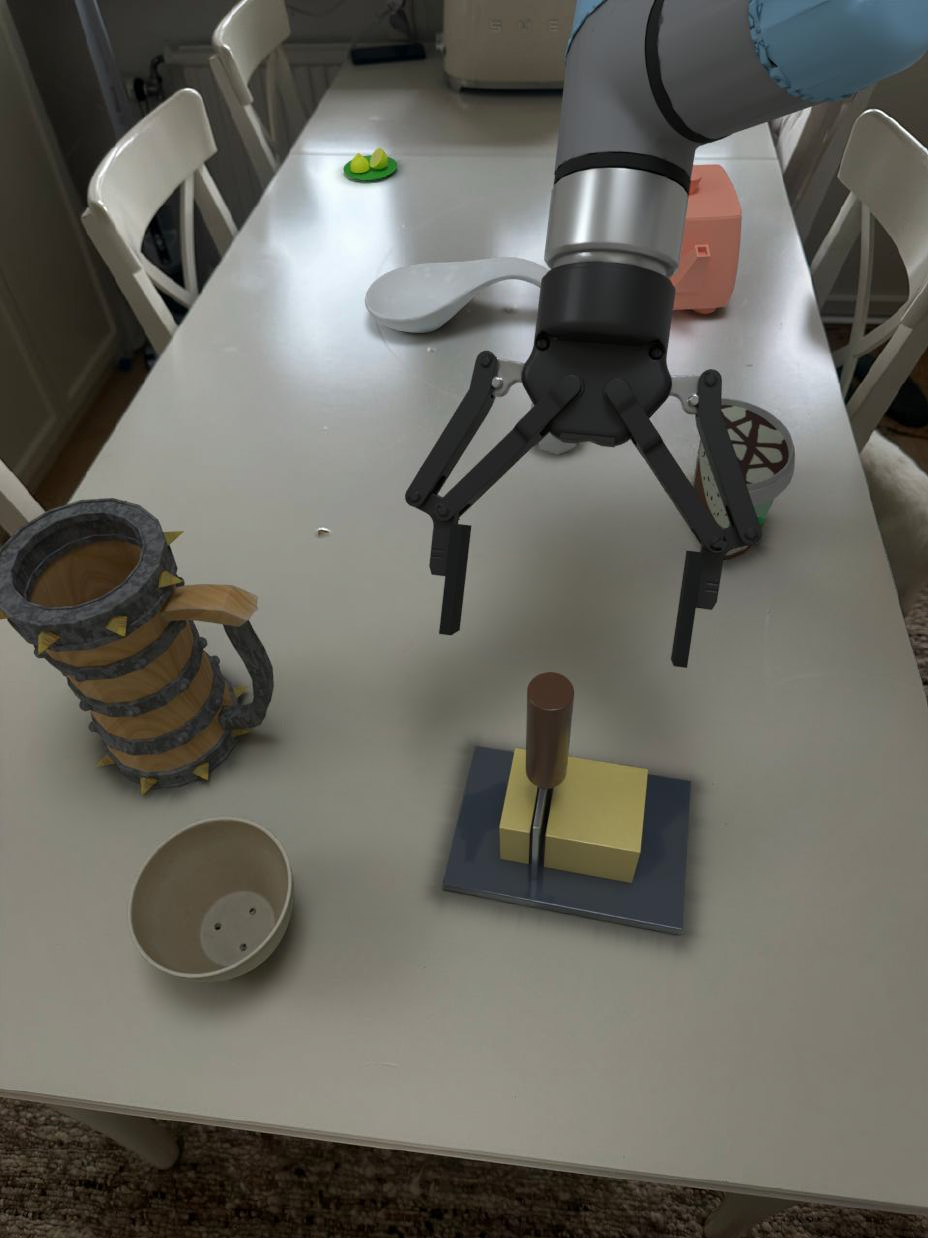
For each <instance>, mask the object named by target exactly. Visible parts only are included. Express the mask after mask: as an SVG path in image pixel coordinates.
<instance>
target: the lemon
mask: <svg viewBox="0 0 928 1238" xmlns="http://www.w3.org/2000/svg"><path fill="white" fill-rule="evenodd" d="M397 168H398V162H397V161H396V160H395V159H394V158H392V157H390V156H388V155H387V153H386V152H385V150H384V149H383V148H382V147H377V148H376V149H375V150H373V153H372V154H368V155H361V153H360V152H357V153H356V154H355V156H354V157H353V158H352V159H351V160H350V161H348V162H347V163H345V164H344V166H343V173H344V174H345V175H346V176H347V177H349V178H352V179H356V180H359V181H377V180H379V179H383V178H386V177H387V176H389V175H391V174H393V173H394V172H395V171H396V170H397Z"/></svg>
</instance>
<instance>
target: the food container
mask: <svg viewBox="0 0 928 1238" xmlns="http://www.w3.org/2000/svg"><path fill="white" fill-rule="evenodd" d="M721 413H722V416H723V419H724V421H725V424H726V427H727V430H728V433H729V436H730V439H731V442H732V445H733V448H734V451H735V454H736V456H737V459H738V462H739V465H740V468H741V471H742V474H743V477H744V480H745V483H746V486H747V489H748V491H749V494H750V497H751V500H752V503H753V506H754V509H755V512H756V515H757V518H758V521H759V523H760V526H761V529H762V527H763V525H764V523H765V521H766V518H767V516H768V514H769V512H770V509H771V507H772V504H773V503H774V501H775V498H777V497H778V496H780V495H781V494H783V492H784V491H786V489H787V488H788V486H789V485H790V483H792V480H793V477H794V474H795V466H796V465H795V463H796V451H795V444H794V441H793V438H792V435H791V432H790V431H789V429H788V428H787V426H786V425H785V424H784V423H783V422H782V421H781V420H780V419H779V418H778V417H777V416H775V415H774V414H773V413H771V412H769V411H768V410H766V409H764V408H762V407H760V406H758V405H756V404H753V403H750V402H748V401H743V400H739V399H734V398H729V397H728V398H727V397H721ZM694 467H695V468H694V473H693V480H692V483H691V485H692V486H693V488H694V489H695V491H696V492H697V494H698V495H699V497H700V498H701V500H702V501H703V503H704V504H705V506H706V507H707V509H708V510H709V512H710V514H711V515H712V517H713V518H714V520H715V521H716V523H717V524H718V526H719V527H720V529H723V528H727V527H731V526H730V523H729V520H728V517H727V514H726V511H725V508H724V505H723V502H722V500H721V497H720V494H719V491H718V488H717V485H716V482H715V479H714V476H713V473H712V471H711V468H710V465H709V462H708V459H707V456H706V453H705V450H704V447H703V444H702V441H701V439H700V438H699V444H698V449H697V456H696V461H695V466H694ZM753 546H754V545H748V546H743V547H739V548H735V549H732V550H730V551H729V552H728V553H727V554H726V555H725V557H724V560H723V562H724V561H730V560H732V559H735V558H737V557H740V556H742V555H744V554H745V553H747V551H749V550H750V549H751V548H752V547H753Z"/></svg>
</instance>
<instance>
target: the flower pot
mask: <svg viewBox="0 0 928 1238" xmlns="http://www.w3.org/2000/svg"><path fill="white" fill-rule="evenodd" d="M294 889H295V888H294V876H293V871H292V865H291V862H290V859H289V856H288V854H287V851H286V850H285V848H284V846H283V844H282V843H281V841H280V840H279V839H278V837H277V836H276V835H275V834H274V833H273V832H271V831H270V830H269V829H268V828H267V827H265V826H264V825H262V824H260V823H259V822H256V821H254V820H253V819H252V820H251V819H248V818H245V817H242V816H233V815H232V816H231V815H220V816H211V817H207V818H203V819H199V820H196V821H194V822H191V823H189V824H187V825H184V826H182V827H181V828H179V829H177V830H176V831H174V832H172V833H171V834H170V835H168V836H167V837H166V838H164V839H163V840H162V841H161V842H160V843H158V845H157V846H156V847H155V848H154V849H153V850H152V851H151V852H150V853H149V855H147V857H146V858H145V860H144V861H143V863H142V864H141V865H140V868H139V869H138V870H137V873H136V875H135V877H134V878H133V881H132V885H131V887H130V890H129V895H128V900H127V907H126V920H127V927H128V932H129V935H130V938H131V941H132V943H133V945H134V946H135V948H136V950H137V952H138V953H139V954H140V955H141V957H142V958H144V960H145V961H146V962H148V963H149V964H150V965H151V966H152V967H154V968H156V969H157V970H159V971H161V972H163V973H165V974H168V975H170V976H172V977H176V978H178V979H181V980H186V981H190V982H197V983H214V982H223V981H228V980H231V979H235V978H238V977H240V976H243V975H245V974H247V973H249V972H251V971H253V970H254V969H256V968H257V967H259V966H260V965H262V963H264V962H265V961H266V960H267V959H268V958H269V957H270V956H271V955H272V954H273V953H274V951H276V949H277V947H278V946H279V944H280V943H281V941H282V939H283V938H284V936H285V933H286V931H287V929H288V926H289V923H290V920H291V916H292V913H293V905H294V895H295V894H294V891H295V890H294ZM218 928H219V929H218ZM245 947H246V948H245Z"/></svg>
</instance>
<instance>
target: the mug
mask: <svg viewBox="0 0 928 1238" xmlns="http://www.w3.org/2000/svg"><path fill="white" fill-rule="evenodd" d="M184 532H185V531H184V530H180V531H179V530H178V531H177V530H175V531H163V528H162V524H161V522H160V519H158V518H157V517H156V516H154V515H153V514H152V513H151V512H149V511H148V510H147V509H145V507H143V506H142V505H141V504H138V503H134V502H130V501H128V500H122V499H118V498H115V497H107V498H106V497H105V498H92V499H91V498H89V499H79V500H76V501H73V502H70V503H67V504H64V505H60V506H57V507H54V508H50V509H48V510H46V511H45V512H43V513H42V514H40V515H38V516H36V517H35V518H33V519H31V520H30V521H28V522H26V523H25V524H23V525H22V526H20V527H19V528H18V529H17V530H16V531H15V532H14V533H13V534H12V535H11V536H10V537H9V538H8V539H7V540H6V542H4V543H3V545H2V546H1V547H0V620H7V623H9V625H10V626H11V627H12V628H13V629H14V630H15V632H16V633H17V634H18V635H20V637H22V639H24V641H26V643H27V644H30V645H32V646H33V648H34V649H33V654H34V656H35V658H36V659H45V660H46V661H47V663H48V664H50V665H51V666H52V667H54V668H55V669H56V670H57V671H59V672H60V673H61V675H62V676H63V677H65V678H66V682H67V685H68V687H69V688H70V690H71V692H72V693H73V694H74V695H75V697H76V698H77V699H78V700H79V702H78V707H79V709H80V710H81V711H83V712H90V717H91V721H90V722H89V724H88V726H87V728H88V730H89V731H90V732H91V733H95V734H97V736H98V737H99V738H100V739H101V740H102V744H103V748H104V753H105V755H104V756H103V757H102V758H101V760H100V761H99V762H98V763H96V766H95V767H101V766H108V765H114V766H115V768H117V770H119V771H120V773H122V775H123V776H124V777H125V778H126V780H128V781H130V782H133V783H136V784H138V785H140V793H141V796H143V795H144V794H146V793H147V791H149V790H150V789H163V788H179V787H182V786H184V785H187V784H189V783H192V782H195V781H197V780H200V779H203V780H205V781H209V774H210V773H211V772H212V771H214V770H215V769H216V768H217V767H218V766H219V765H221V764H222V763H223V762H224V761H225V760H227V759H228V757H229V756H230V754H231V753H232V751H233V749H234V747H235V746H236V744H237V743H238V741H239V739H240V737H241V735H246V734H249V733H251V730H250V729H255V728H257V727H259V726H261V725H262V724H263V722H264V720H265V718H266V715H267V711H268V708H269V706H270V704H271V702H272V698H273V693H274V688H275V682H274V680H275V679H274V667H273V664H272V662H271V659H270V657H269V655H268V652H267V650H266V647H265V645H264V644H263V642H262V641H261V639H260V637H259V636H258V634H257V633H256V631H255V629H254V627H253V625H252V622H251V621H250V619H251V618H252V616H253V615H254V614H255V613H256V612H257V611H258V610H259V608H258V600H259V596H258V595H256V594H254V593H252V592H250V591H247V590H246V589H244V588H243V589H242V588H241V587H239V586H236V585H233V584H211V583H197V584H195V583H194V584H186V582H185V579H184V578H183V576H179V575H178V565H177V562H176V559H175V556H174V553H173V551H172V547H171V544H172V543H173V542H174V541H175V540H177V539H178V538H179V537H180V536H181V535H183V533H184ZM195 621H197V622H202V623H211V624H217V625H222V627H223V630H224V632H225V633H226V636H227V637H228V639H229V641H230V643H231V645H232V646H233V649H235V651H236V653H237V654H238V656H239V657H240V660H241V661H242V662H243V664H244V666H245V668H246V670H247V672H248V675H249V677H250V678H251V682H252V683H251V685H252V692H253V694H252V695H253V696H252V697H253V698H252V702H249V703H246V704H240V702H239V701H240V700H239V698H240V696H241V695H243V693H244V692H245V691H246V690H247V689H248V688H249V685H247V686H235V687H234V686H233V684H232V682H231V681H230V680H229V678H227V677H226V676H225V675H224V674H223V673H222V670H221V666H220V663H221V659H220V657H219V656H218V655H216V654H215V655H214V654H213V655H210V654H209V653H208V652H207V651H206V650H204V649H206V647H207V646H208V640H207V639H206V637H204V636H200V633H199V629H198V628H197V626H196V624H195Z"/></svg>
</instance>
